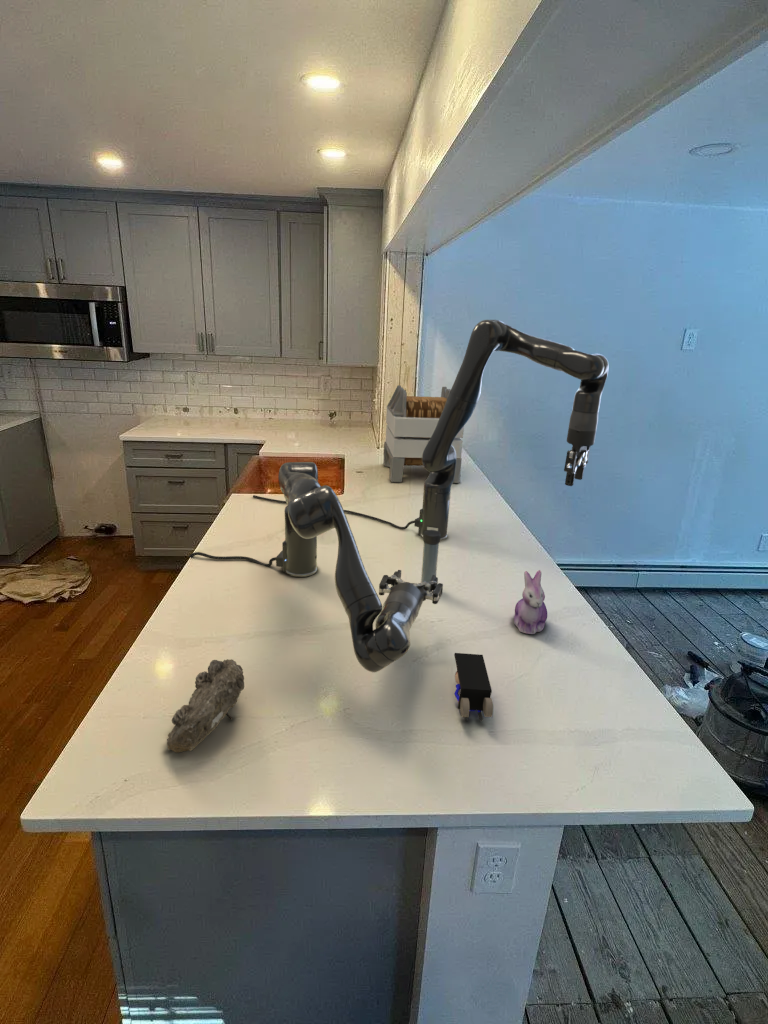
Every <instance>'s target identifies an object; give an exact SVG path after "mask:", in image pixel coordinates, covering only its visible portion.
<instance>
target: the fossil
mask: <svg viewBox="0 0 768 1024" xmlns="http://www.w3.org/2000/svg"><path fill="white" fill-rule="evenodd" d="M243 670H244V669H243V667H242V665H240V664H237V662H236V661H235V660H234V659H232V658H231V659H227V658H226V659H224V660H223V661H222V660H217V659H212V660H211V661H210V663H209V665H208V666H207V671H201V672H199V673H198V674H197V675H196V676H195V680H194V684H195V685H194V687H195V689H194V690H193V693H192V694H191V697H190V698H189V700H188V704H184V705H182V706H181V707H180V709H177V710H176V711H175V713H174V715H173V716H172V718H171V723H172V724H173V727H172V730H171V731H170V732H168V734H167V738H166V741H167V742H166V745H167V749H168V750H169V751H173V752H174V753H176V754H178V753H182V752H188V751H189V752H192V751H193V750H195V748H196V747H197V746H199V744H200V743H201V742H203V741H204V740H205V739H206V738H207V737H208V736H209V735H210V734H211V733H212V732H214V730H215V729H217V727H218V726H219V724H220V722H221V721H222V720H223V719H224V718H225V716H226V717H227V719H229V720H233V717H232V715H230V714H229V710H230V709H231V708H234V706H235V704H236V703H237V702H238V699H239V697H240V695H241V693H242V691H243V690H245V689H244V688H245V675H244V671H243Z"/></svg>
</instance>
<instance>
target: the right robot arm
mask: <svg viewBox="0 0 768 1024" xmlns="http://www.w3.org/2000/svg"><path fill="white" fill-rule="evenodd" d="M467 343H468V344H467V347H466V350H465V354H464V357H463V360H462V363H461V364H460V367H459V370H458V372H457V374H456V377H455V379H454V382H453V384H452V386H451V387H450V390H451V391H450V393H449V395H448V398H447V400H446V403H445V406H444V408H443V411H442V413H441V416H440V418H439V421H438V423H437V426H436V428H435V430H434V432H433V434H432V436H431V438H430V440H429V442H428V444H427V445H426V447H425V449H424V451H423V454H422V464H423V466H422V467H423V468H424V470H425V471H427V472H428V473H429V474H428V476H427V477H426V478H425V480H424V482H423V493H422V496H423V497H422V506H421V508H420V509H419V516H418V517H417V518H414V520H410V521H408V522H407V524H406V525H405V526H399V525H396V524H394V523H393V522H391V521H389V520H388V521H387V520H385V519H382V518H378V517H375V516H373V515H369V514H365V513H361V512H356V511H352V510H349V509H348V510H347V509H343V510H344V513H346V514H352V515H357V516H360V517H364V518H368V519H371V520H374V521H378V522H380V523H383V524H387V525H389V526H391V527H393V528H396V529H399V530H407V529H408V528H409V526H410V525H413V524H414V527H416V528H418V530H417V535H418V536H420V538H421V539H423V534H424V531H426V530H435V531H438V532H440V535H441V537H440V542H441V541H444V540H446V539H447V538H448V525H449V517H450V516H449V514H450V504H451V494H452V493H451V491H452V485H453V484H454V483H453V481H454V476H455V468H456V451H455V449H454V447H453V446H452V445H451V444H452V442H453V440H454V438H455V437H456V435H457V434H458V433H459V431H460V430H461V429H462V428H463V426H464V427H465V425H466V424H467V423H468V421H469V420H470V418H471V417H472V415H473V414H474V411H475V409H476V407H477V404H478V402H479V400H480V397H481V392H482V381H483V375H484V371H485V368H486V366H487V364H488V362H489V359H490V358H491V356H492V354H493V353H495V352H505V353H511V354H515V355H518V356H521V357H524V358H526V359H528V360H530V361H531V362H533V363H535V364H538V365H540V366H542V367H545V368H549V369H552V370H555V371H559V372H562V373H564V374H566V375H568V376H571V377H573V378H575V379H577V380H580V383H579V387H578V389H577V390H576V391H575V394H574V397H573V403H572V410H571V414H570V417H569V422H568V429H567V436H566V442H567V444H569V445H571V446H572V447H571V449H570V450H569V449H568V450H567V451H566V456H565V462H564V468H563V471H564V472H565V473H566V475H565V481H564V485H565V486H567V487H573V486H574V483H575V480H579V481H582V480H583V478H584V472H585V468H586V467H587V465H588V463H589V458H590V451H591V447H593V446H594V444H595V441H596V436H597V435H596V434H597V430H598V423H599V412H600V406H601V400H602V394H603V392H604V389H605V385H606V382H607V379H608V375H609V367H610V366H609V361H608V359H607V358H606V356H605V355H603V354H602V353H601V354H600V353H592V354H591V353H587V352H583V351H579V350H576V349H574V348H573V347H572V346H569V345H566V344H563V343H560V342H556V341H552V340H550V339H545V338H542V337H537V336H534V335H531V334H528V333H526V332H523V331H521V330H518V329H517V328H514V326H513V327H512V326H510V325H509V324H507V323H505V322H503V321H501V320H499V319H483V320H481V321H479V322H478V323H476V324H475V326H474V328H473V329H472V331H471V333H470V336H469V340H468V342H467ZM252 498H254V499H259V500H262V501H270V502H274V503H281V504H286V505H287V503H286V500H281V499H274V498H268V497H264V496H258V495H254V494H253V495H252Z"/></svg>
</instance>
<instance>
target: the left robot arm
mask: <svg viewBox="0 0 768 1024" xmlns="http://www.w3.org/2000/svg"><path fill="white" fill-rule="evenodd" d="M278 485H279V489H280V491H281V493H282V494H283V496H284V501H286V503H287V504H286V503H285V504H286V505H285V508H284V540H283V541H282V544H281V545H282V546H281V547H282V548H281V549H282V550H281V551H280V552H279V553H278V554H277V555H276V556H275V557H271V558H270V559H269V561H268V563H264V562H261V561H260V560H258V559H256V558H252V557H249V556H239V555H238V556H237V555H233V556H232V555H231V556H219V555H218V556H216V555H211V554H208V553H205V552H201V551H195V552H192V553H190V554H189V555H188V558H193V557H195V556H202V557H204V558H208V559H210V560H218V561H219V560H222V561H223V560H243V561H244V560H245V561H250V562H252V563H254V564H257V565H261V566H263V567H265V568H266V567H268V568H269V567H271V566H272V565H273V562H274V561H275V567H277V568H278V567H279V568H282V572H283V573H285V574H287V575H289V576H290V577H291V576H292V577H297V578H298V577H299V578H305V577H310V576H313V575H315V574H316V573H317V572H318V550H317V549H318V538H317V537H318V536H320V535H322V534H324V533H327V532H329V531H331V530H333V529H335V532H336V535H337V542H338V543H337V545H338V546H337V557H336V563H335V571H334V585H335V590H336V593H337V596H338V599H339V600H340V602H341V605H342V606H343V609H344V611H345V613H346V616H347V618H348V622H349V630H350V635H351V640H352V646H353V647H352V648H353V651H354V655H355V657H356V660H357V663H359V664H360V666H361V667H362V668H363V669H364V670H366V671H368V672H370V673H377V672H380V671H382V670H384V669H385V668H386V667H388V666H390V665H392V664H393V663H394V662H396V661H398V660H400V659H401V658H402V657H404V656H405V655H406V654H407V652H408V651H409V650H410V647H411V633H410V630H411V628H412V625H414V622H415V621H416V619H417V617H418V615H419V612H420V609H421V607H422V605H423V602H425V601H426V600H429V601H431V602H432V604H433V605H438V603H439V601H440V599H441V597H442V595H443V588H444V584H443V583H442V582H439V581H438V580H439V577H437V574H436V575H433V576H432V578H431V580H430V582H425V581H424V582H421V581H420V582H418V583H417V582H416V583H415V582H409V581H404V580H403V579H402V569H398V570H396V571H394V573H393V574H391V576H389V575H388V574H384V575H382V577H381V580H380V581H379V584H378V593H377V591H376V589H375V586H374V585H373V583H372V581H371V579H370V577H369V575H368V572H367V570H366V567H365V565H364V563H363V560H362V557H361V553H360V551H359V548H358V544H357V542H356V539H355V536H354V534H353V531H352V528H351V526H350V523H349V520H348V517H347V515H346V512H344V510H345V509H344V508H343V506H342V503H341V501H340V499H339V497H338V495H337V493H336V492H335V491H334V489H333V488H332V487H331V486H329V485H327V484H324V485H321V484H320V482H319V470H318V466H317V464H316V462H313V461H293V462H292V461H288V462H284V463H282V464H281V466H280V467H279V469H278ZM389 585H390V587H389ZM422 587H423V588H422ZM429 587H430V589H429ZM385 594H388V595H387V597H386V599H385V600H384V602H383V604H382V601H381V600H380V599H381V598H380V597H379V596H384V595H385ZM374 622H375V624H374ZM374 625H375V628H374Z"/></svg>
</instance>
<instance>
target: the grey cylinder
mask: <svg viewBox="0 0 768 1024" xmlns="http://www.w3.org/2000/svg"><path fill="white" fill-rule="evenodd" d="M439 547H440V542H439V543H438V544H427V543H425V542H424V541H423V547H422V561H421V562H422V564H421V574H420V575H421V576H420V583H421V582H424V581H425V582H430V580H431V578H432V576H433V575H436V576H437V571H438V561H439V560H438V559H439ZM422 588H423V587H422ZM429 589H430V587H429Z"/></svg>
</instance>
